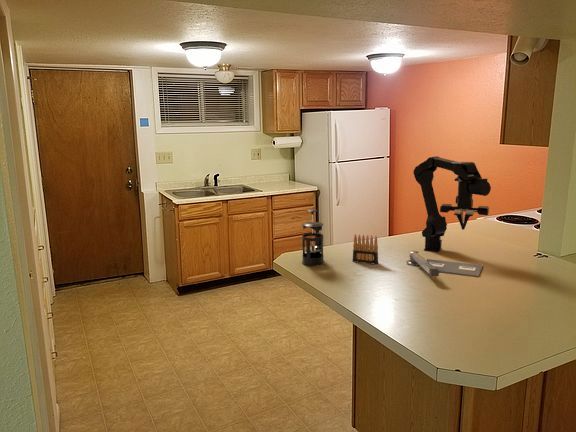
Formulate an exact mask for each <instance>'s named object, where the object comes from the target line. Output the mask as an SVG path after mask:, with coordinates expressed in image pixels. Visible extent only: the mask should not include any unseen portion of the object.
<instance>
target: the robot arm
mask: <svg viewBox="0 0 576 432" xmlns="http://www.w3.org/2000/svg"><path fill="white" fill-rule="evenodd" d="M438 168H440V169H443V170H447V171H450V172H453V173H454V174H453V175H455V176H456V177H455V178H454V181H455V182H457V183H458V184H457V195H456V197H455V204H456V205H455V206H453V204H452V203H442V204H441V206H440V207H439V208H438V203H437V201H436V196H435V195H436V194H435V191H434V186H433V181H434V177H435V176H434V173H435V172H436V171H437V169H438ZM479 171H480V170H479V169H478V168H477V165H476V163H475V162H473V161H455V160H452V159H447V158H443V157H440V156H430V157H428V158H427V159H426V160H424V161H423V162H421V163H419V164H418V165H417V166H415V167H414V169H413V177H414V179H415V181H416V182H417V183H418V184H419V186H420V188H421V193H422V197H423V202H424V205H425V210H426V214H427V218H426V221H425V228H424V229H423V230H422V231H421V236H422V238H424V239H425V242H424V248H423V250H424V251H427V252H428V251H430V252H437V253H438V252H439V251H441V249H442V245H443V244H442V242H443V241H442V239H441V238H442V237H444V236H445V233H446V231H447V229H448V228H447V227H448V223H447V220H446V216H442V215H441V214H440V213H444V214H445V213H447V214H448V213H449V212H450V211H451V212H452V211H454V214H453V216H456V218H457V220H458V221H459V225H460V227H461V230H463V231H464V230H465V228H466V226H467V224H468V221H469V219H470V217H473V216H474V215H475V213H477V214H478V215H480V216H488V215H489V213H490V207H489V206H486V205H478V207H474V199H473V195H476V196H477V195H478V196H482V197H483V196H484V197H487V196H488V195H489V194H490V192H491V190H492V187H491V184H490V182H489V181H488V178H482V175H481V174H480V172H479ZM464 212H465V214H464Z"/></svg>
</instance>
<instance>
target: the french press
mask: <svg viewBox="0 0 576 432" xmlns="http://www.w3.org/2000/svg"><path fill="white" fill-rule="evenodd" d="M307 212H308V213H310V214H311V221H308V222H303V223H301V226H302V230H305V229H307V228H310V229H311V232H310V233H309V232H307V233H303V234H302V235H301V239H302V256H301V257H302V261H301V264H303V265H304V266H307V265H308V267H318V266H317V265H319V266H321V264H322V265H324V264H325V260H324V257H325V256H324V234H322V233H321V232H319V231H323V226H324V223H323V222H319V221H314V212H315V213H316V212H318V210H317V209H313V208H312V209H307ZM314 231H315V232H314ZM311 243H312V245H311ZM323 263H324V264H323Z"/></svg>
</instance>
